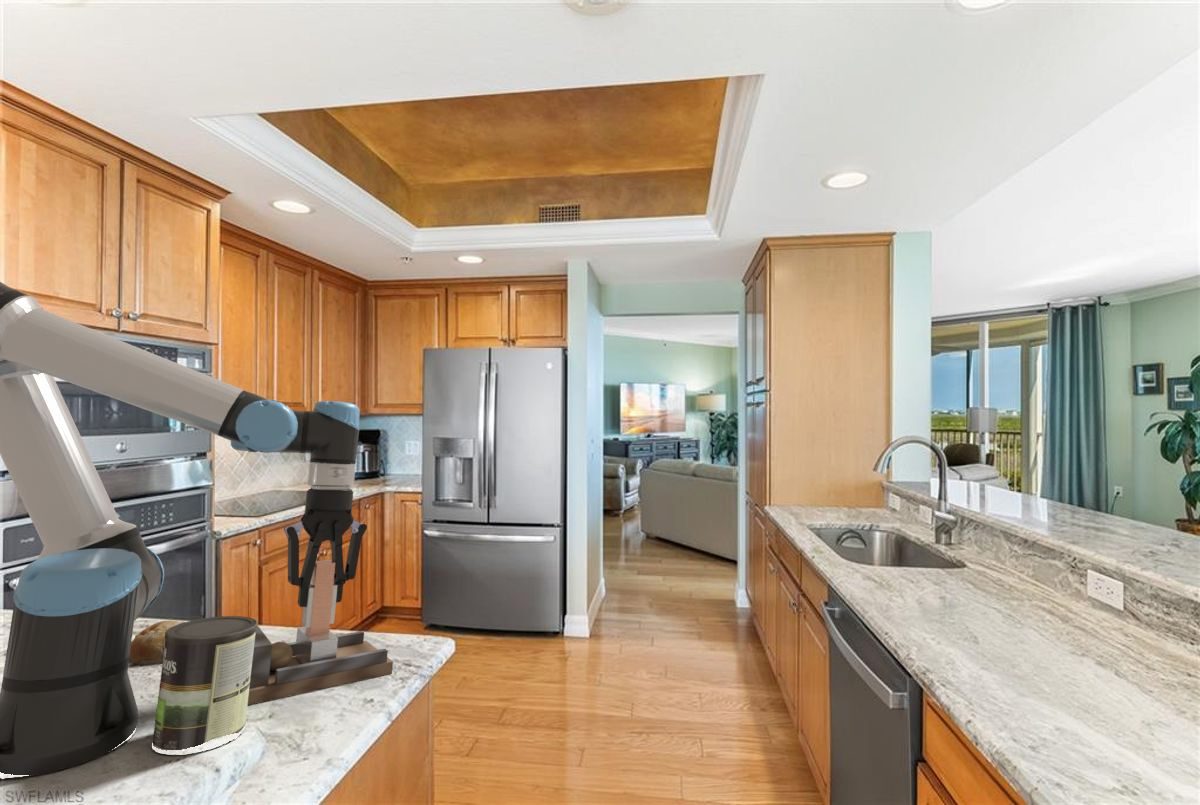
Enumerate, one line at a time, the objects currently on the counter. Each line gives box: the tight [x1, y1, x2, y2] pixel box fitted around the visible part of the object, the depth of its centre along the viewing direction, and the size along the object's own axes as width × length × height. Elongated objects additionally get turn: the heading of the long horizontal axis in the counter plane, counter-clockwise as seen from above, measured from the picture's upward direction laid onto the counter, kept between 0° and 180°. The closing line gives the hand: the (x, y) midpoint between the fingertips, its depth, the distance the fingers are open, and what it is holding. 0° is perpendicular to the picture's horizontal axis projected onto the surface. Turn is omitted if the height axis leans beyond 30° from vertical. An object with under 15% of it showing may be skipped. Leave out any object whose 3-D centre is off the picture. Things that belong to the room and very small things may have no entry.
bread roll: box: [129, 620, 185, 665], centre depth 100 cm, size 10×10×8 cm
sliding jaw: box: [295, 559, 338, 664], centre depth 95 cm, size 4×10×17 cm, turn 41°
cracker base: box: [247, 625, 394, 706], centre depth 94 cm, size 22×14×8 cm, turn 131°
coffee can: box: [151, 615, 259, 751], centre depth 73 cm, size 10×10×14 cm
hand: (318, 623), depth 95 cm, fingers closed on sliding jaw, 3 cm apart
